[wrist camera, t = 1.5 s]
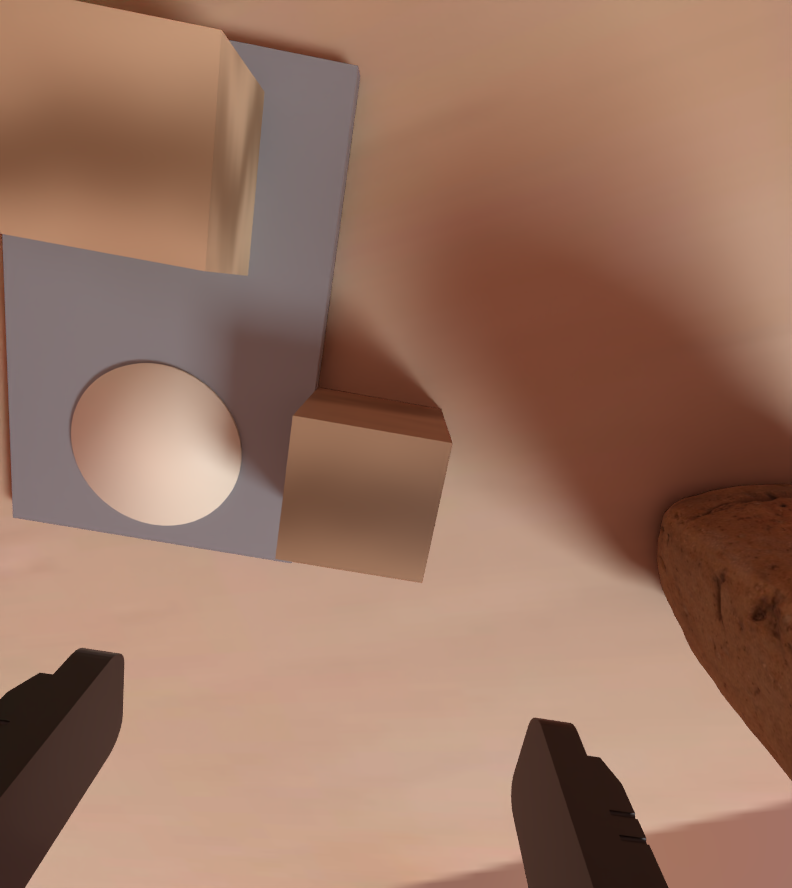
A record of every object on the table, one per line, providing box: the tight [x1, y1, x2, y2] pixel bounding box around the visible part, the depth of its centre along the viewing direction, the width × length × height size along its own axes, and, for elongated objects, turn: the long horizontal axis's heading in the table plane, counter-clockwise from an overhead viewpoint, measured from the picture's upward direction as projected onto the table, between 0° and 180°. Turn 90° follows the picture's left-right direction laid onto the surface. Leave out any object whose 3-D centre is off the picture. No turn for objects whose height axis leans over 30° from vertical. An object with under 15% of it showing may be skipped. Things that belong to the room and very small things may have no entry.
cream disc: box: [71, 363, 242, 526], centre depth 24 cm, size 8×8×1 cm
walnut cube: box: [275, 387, 452, 583], centre depth 23 cm, size 6×6×6 cm
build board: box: [2, 40, 360, 563], centre depth 23 cm, size 22×14×1 cm, turn 170°
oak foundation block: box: [0, 0, 265, 276], centre depth 19 cm, size 7×7×5 cm
